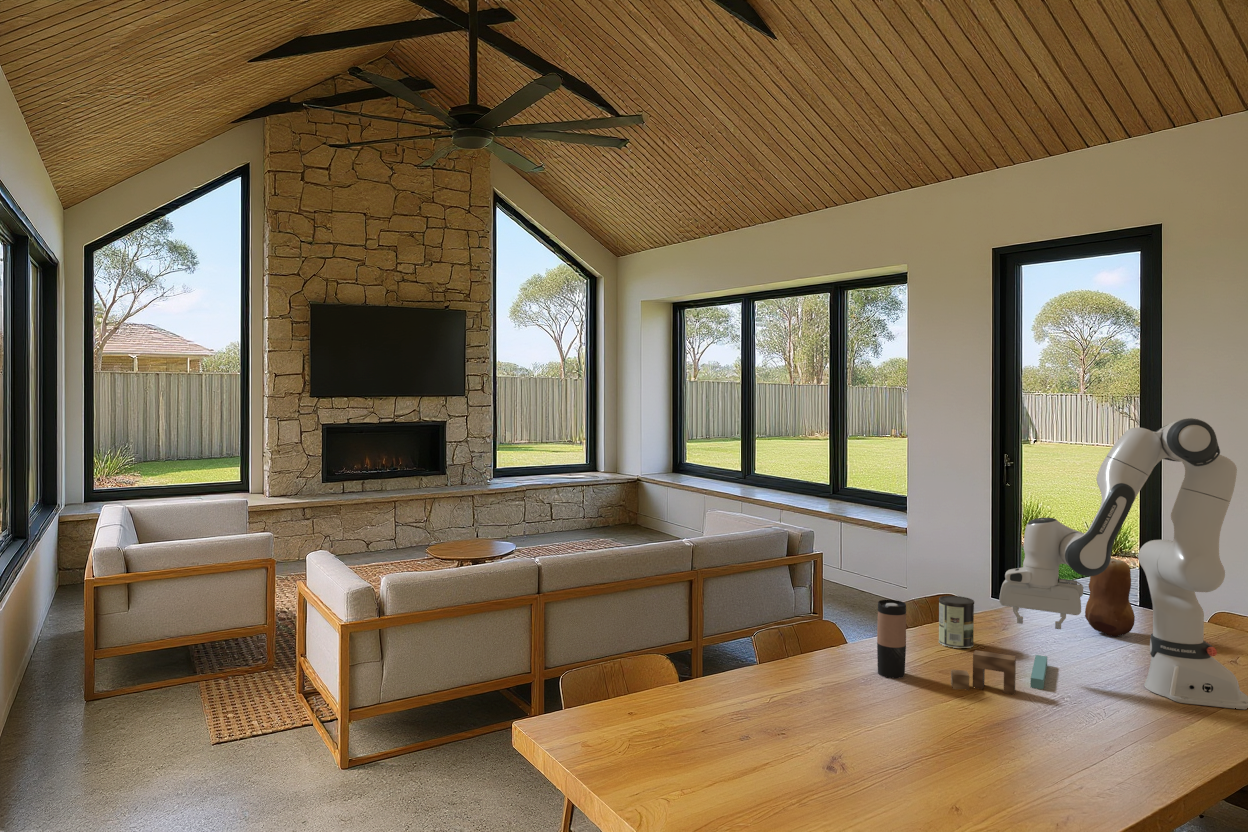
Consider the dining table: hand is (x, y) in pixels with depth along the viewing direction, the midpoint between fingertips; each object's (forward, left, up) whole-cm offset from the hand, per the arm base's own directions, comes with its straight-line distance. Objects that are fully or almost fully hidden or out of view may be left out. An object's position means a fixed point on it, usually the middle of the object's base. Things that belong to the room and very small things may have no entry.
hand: (1038, 625), depth 224 cm
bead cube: (+18, +20, -14) cm, 30 cm away
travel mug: (+36, +19, -14) cm, 43 cm away
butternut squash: (-18, -55, -14) cm, 60 cm away
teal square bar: (0, 0, -14) cm, 14 cm away
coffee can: (+24, -19, -14) cm, 34 cm away
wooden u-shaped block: (+10, +17, -14) cm, 24 cm away
